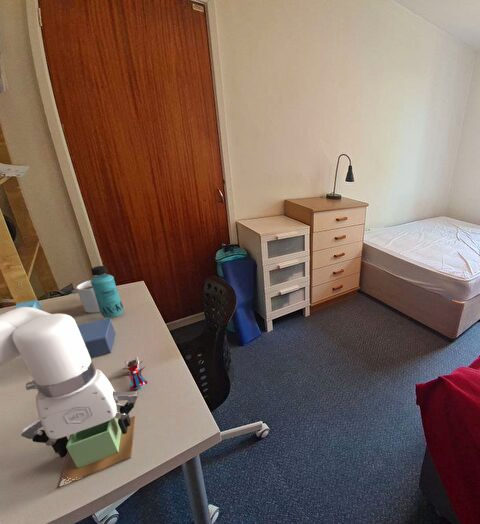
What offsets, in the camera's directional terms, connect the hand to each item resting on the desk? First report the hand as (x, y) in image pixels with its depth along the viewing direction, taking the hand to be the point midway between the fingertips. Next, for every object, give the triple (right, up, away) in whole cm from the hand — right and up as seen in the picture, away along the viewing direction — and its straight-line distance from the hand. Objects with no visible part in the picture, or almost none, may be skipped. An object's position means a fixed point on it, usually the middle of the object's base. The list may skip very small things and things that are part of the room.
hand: (97, 439), depth 59 cm
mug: (-44, +19, +50) cm, 70 cm away
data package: (-48, +12, +32) cm, 59 cm away
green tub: (0, -2, +1) cm, 3 cm away
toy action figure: (-5, +5, +18) cm, 20 cm away
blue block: (-28, +10, +29) cm, 42 cm away
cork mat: (0, -3, +1) cm, 3 cm away
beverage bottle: (-34, +17, +45) cm, 59 cm away
